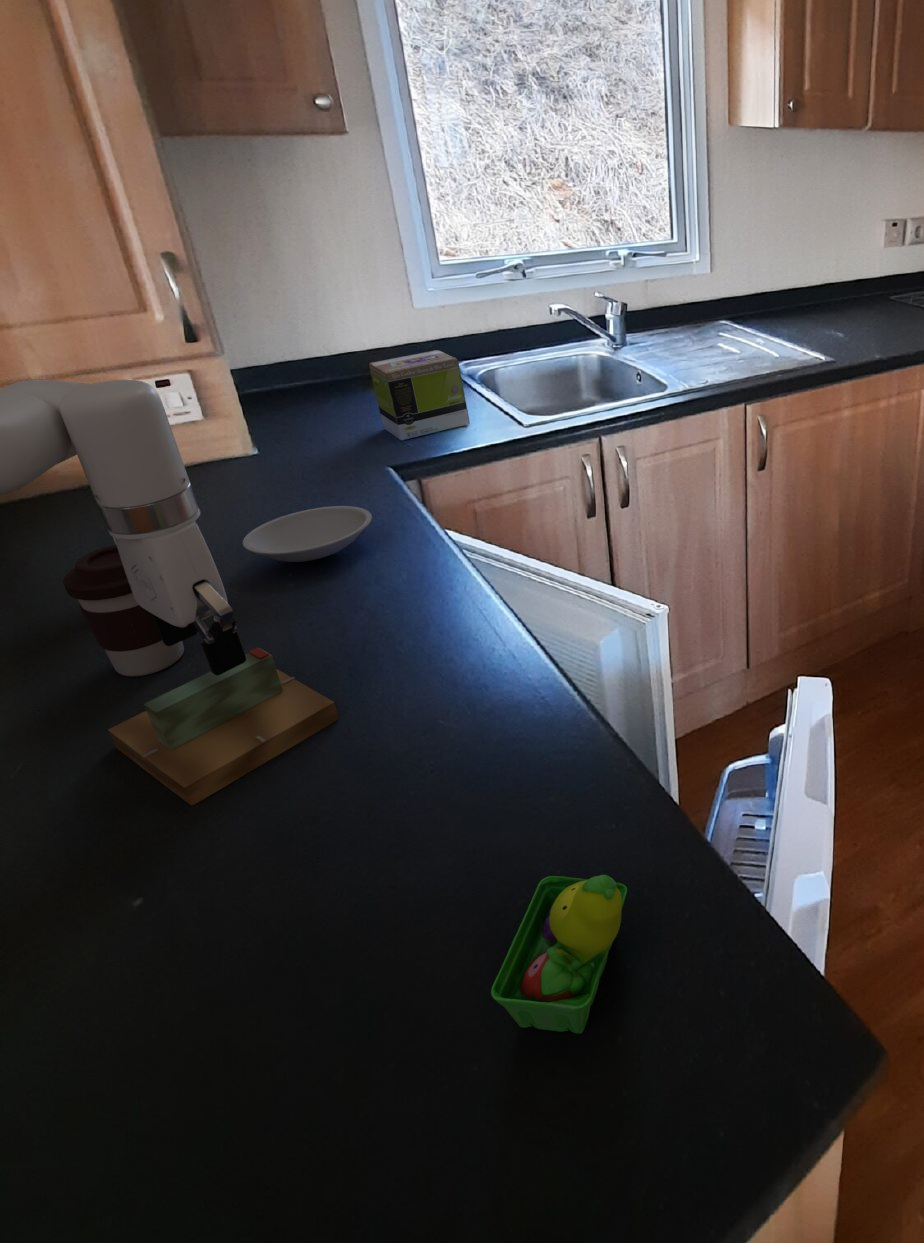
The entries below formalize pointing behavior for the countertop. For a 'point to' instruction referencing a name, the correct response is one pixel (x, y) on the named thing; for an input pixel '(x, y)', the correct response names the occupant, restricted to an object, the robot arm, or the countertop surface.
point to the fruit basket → (560, 952)
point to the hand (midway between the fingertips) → (205, 653)
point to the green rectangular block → (213, 699)
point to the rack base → (227, 741)
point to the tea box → (419, 394)
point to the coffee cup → (118, 615)
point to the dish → (308, 533)
